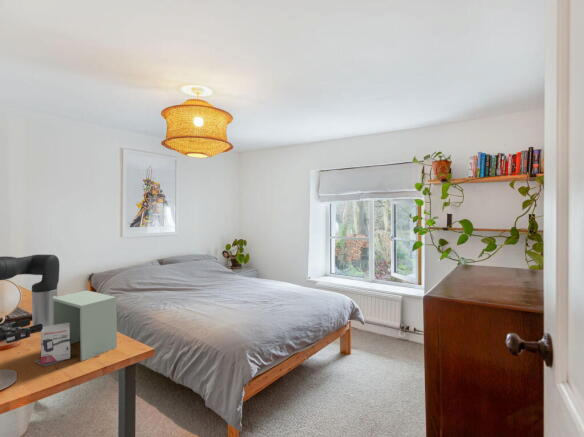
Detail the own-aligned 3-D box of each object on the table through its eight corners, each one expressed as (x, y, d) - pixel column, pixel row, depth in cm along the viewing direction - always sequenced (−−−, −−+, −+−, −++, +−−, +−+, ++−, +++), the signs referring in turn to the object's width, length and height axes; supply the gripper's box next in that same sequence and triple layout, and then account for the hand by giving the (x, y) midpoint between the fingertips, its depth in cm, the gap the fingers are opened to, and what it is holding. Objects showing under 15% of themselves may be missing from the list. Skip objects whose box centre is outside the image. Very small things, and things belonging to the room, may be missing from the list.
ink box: (40, 364, 112) (40, 331, 112) (42, 359, 117) (41, 326, 116) (70, 358, 117) (70, 326, 117) (70, 353, 121) (70, 322, 121)
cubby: (53, 348, 126) (52, 297, 125) (87, 337, 137) (86, 290, 136) (82, 361, 116) (81, 305, 115) (116, 347, 127) (116, 297, 127)
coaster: (35, 362, 115) (35, 360, 115) (57, 354, 121) (57, 353, 121) (45, 366, 112) (45, 365, 112) (67, 358, 118) (67, 357, 118)
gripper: (-18, 334, 94) (46, 317, 108) (-38, 325, 101) (25, 309, 115) (-17, 360, 95) (46, 339, 109) (-36, 348, 101) (26, 330, 116)
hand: (35, 324), depth 112 cm, fingers open, 8 cm apart
